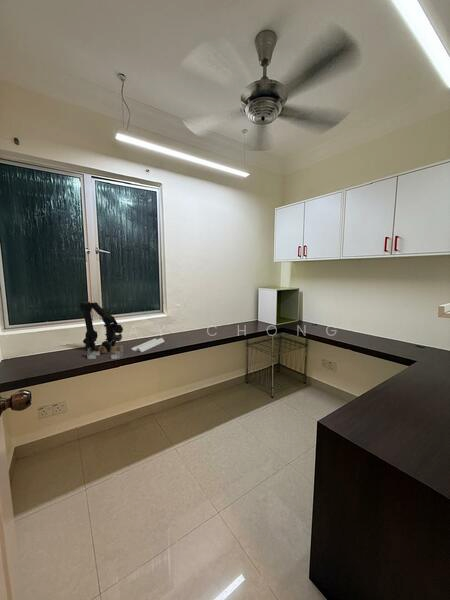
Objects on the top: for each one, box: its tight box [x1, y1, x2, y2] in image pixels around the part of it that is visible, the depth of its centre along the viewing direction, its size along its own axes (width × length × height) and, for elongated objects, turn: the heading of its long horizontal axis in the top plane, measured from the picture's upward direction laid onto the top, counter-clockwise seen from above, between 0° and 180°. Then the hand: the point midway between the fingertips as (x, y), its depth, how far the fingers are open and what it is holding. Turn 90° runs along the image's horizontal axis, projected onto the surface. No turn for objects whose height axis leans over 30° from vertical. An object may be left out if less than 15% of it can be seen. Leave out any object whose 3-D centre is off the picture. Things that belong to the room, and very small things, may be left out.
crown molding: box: [130, 337, 165, 353], centre depth 216 cm, size 31×12×4 cm, turn 158°
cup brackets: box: [87, 346, 124, 360], centre depth 189 cm, size 25×8×7 cm, turn 92°
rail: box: [98, 345, 124, 354], centre depth 199 cm, size 18×4×5 cm, turn 91°
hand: (111, 350), depth 199 cm, fingers open, 7 cm apart
